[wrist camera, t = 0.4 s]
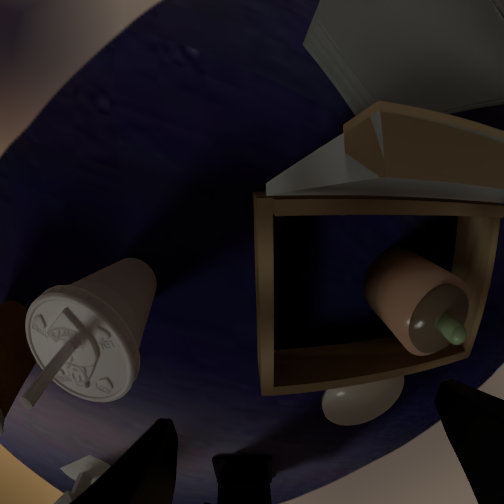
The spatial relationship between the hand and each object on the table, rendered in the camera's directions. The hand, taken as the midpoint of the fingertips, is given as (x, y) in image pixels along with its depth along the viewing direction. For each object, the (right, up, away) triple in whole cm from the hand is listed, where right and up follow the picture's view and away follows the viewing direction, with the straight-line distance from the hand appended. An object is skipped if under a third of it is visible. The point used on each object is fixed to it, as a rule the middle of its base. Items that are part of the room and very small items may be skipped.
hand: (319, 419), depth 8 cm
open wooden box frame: (+7, +4, +13) cm, 16 cm away
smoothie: (-11, +3, +13) cm, 17 cm away
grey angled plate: (+8, +7, +1) cm, 10 cm away
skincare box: (+6, +18, +10) cm, 21 cm away
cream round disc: (+9, -8, +17) cm, 21 cm away
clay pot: (+9, +3, +14) cm, 17 cm away
